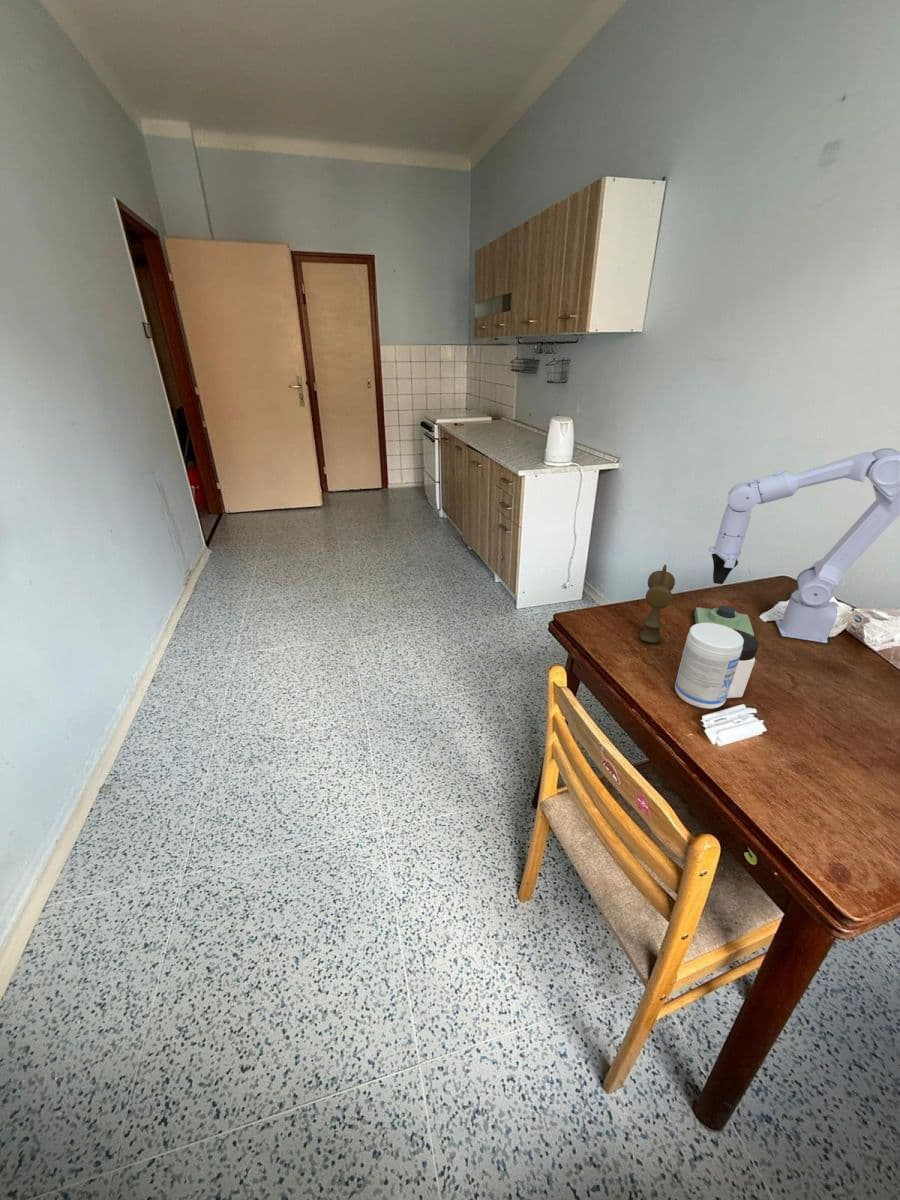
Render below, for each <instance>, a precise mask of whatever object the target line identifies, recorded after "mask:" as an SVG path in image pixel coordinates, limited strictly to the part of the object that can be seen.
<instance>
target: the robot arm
mask: <svg viewBox="0 0 900 1200" xmlns="http://www.w3.org/2000/svg"><path fill="white" fill-rule="evenodd" d="M866 478H868V479H869V481H870V483H871V484H872V488H873V492H874V495H875V499H874V501H873V502H872V504H870V506H869V507H868V508H867V509H865V511H864V512H863V513H862V514H861V516H860V517H859V518H858V519H857V520H856V521H855V522H854V523H853V524H852V525H851V527H849V529H848V530H847V531H846V532H845V533H844V534H843V536H841V538H840V539H839V540H838V541H837V542H836V544H835V545H833V546H832V548H830V550H829V551H828V552H827V553H826V554H825V555H824V557H823V558H820V559H819V560H816V561H815V562H814V563H813V564H812V565H811V566H810V567H807V568H805V569H804V570H802V571H800V572H799V574H798V575H797V577H796V584H797V589H796V590H795V591H793V592H792V593H791V595H790V597H789V600H788V603H787V605H786V609H785V611H784V613H783V617H782V619H775V625H776V626H777V628H778V631H779V633H780V635H781V637H785V638H790V639H798V640H803V641H810V642H815V643H823V644H827V643H828V642H829V641H828V638H829V636H830V634H831V632H832V630H833V627H834V625H835V622H836V620H837V616H838V606H837V604H836V603H835V602H831V600H832V598H833V594H834V591H835V590H836V589H837V587H838V586H839V585H840V583H841V581H842V578H843V576H844V574H845V573H846V571H848V570H849V569H850V567H851V566H853V564H854V563H855V562H856V561H857V560H858V559H859V558H860V557H861V556H862V555H863V554H864V553H865V552H866V551H867V550H868V548H869V547H871V546H872V544H873V543H874V542H876V540H878V538H879V537H880V536H881V535H882V534H883V533H884V532H885V531H886V530H887V529H888V528H889V527H890V526H891V525H892V523H893V522H894V521H895V520H896V519H898V517H900V451H898V450H897V449H895V448H890V447H882V448H878V449H876V450H873V451H872V452H871V451H865V452H861V453H857V454H854V455H851V456H848V457H845V458H842V459H839V460H836V461H833V462H828V463H826V464H823V465H819V466H817V467H813V468H811V469H808V470H804V471H801V472H798V473H793V472H791V471H789V470H784V471H782V470H780V469H778V470H775V471H774V472H773V474H772V475H768V476H766V477H761V478H758V479H755V478H751V479H748V482H746V481H742V482H738V483H736V484H734V485H733V486H732V487H731V489H730V490H729V491H728V495H727V505H726V506H725V509H724V513H723V514H722V518H721V522H720V526H719V529H718V533H717V537H716V540H715V544H714V546H709V547H708V552H711V559H712V565H713V572H712V581H713V583H714V584H716V585H723V584H724V583H725V581H726V580H727V578H728V576H729V575H730V573H731V572H732V570H733V569H735V568H736V567H737V566H738V564H739V560H738V559H739V557H740V556H741V554H742V547H743V543H744V540H745V537H746V534H747V530H748V527H749V523H750V520H751V513H752V509H753V508H755V506H756V505H762V504H767V503H771V502H775V501H778V500H781V499H786V498H789V497H793V496H794V495H795V493H797V492H798V490H799V489H802V488H803V489H804V488H807V487H812V486H816V485H819V484H823V483H828V482H833V481H837V480H841V479H849V480H852V481H855V482H861V483H864V482H865V479H866Z"/></svg>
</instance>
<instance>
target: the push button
mask: <svg viewBox="0 0 900 1200" xmlns="http://www.w3.org/2000/svg"><path fill="white" fill-rule="evenodd" d="M718 608H719V609H718V613H717V614H718V615H719V616H722V617H724V618H733V617H734V614H735V611H736V609H735V608H733V607H732V606H728V605H720V606H719V607H718Z"/></svg>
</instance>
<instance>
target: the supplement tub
mask: <svg viewBox="0 0 900 1200" xmlns="http://www.w3.org/2000/svg"><path fill="white" fill-rule="evenodd" d="M743 643H744V639H743V637H742V636H741V635H740V634H739V633H738V632H736V631H735V630H733V629H731V628H729V627H726V626H723V625H720V624H715V623H698V624H696V623H695V624H693V625H692V626H691V627H690V628H689V631H688V633H687V635H686V640H685V643H684V648H683V652H682V654H681V655H682V656H681V659H680V664H679V668H678V672H677V675H676V680H675V683H674V691H675V692H676V694H677V696H678V697H679V698H680V699H681V700H682V701H684V702H685V703H687V704H689V705H691V706H694V707H696V708H700V709H717V708H720V707H721V706H723V705H724V704H725V703H726V702H727V699H728V698H727V695H728V692H729V689H730V686H731V683H732V680H733V677H734V674H735V671H736V668H737V665H738V662H739V659H740V655H741V652H742V649H743Z"/></svg>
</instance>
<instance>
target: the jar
mask: <svg viewBox="0 0 900 1200" xmlns="http://www.w3.org/2000/svg"><path fill="white" fill-rule="evenodd" d="M733 630H735V631H736V632H738V633H739V634H740V635H741V636H742V637H743V639H744V643H743V649H742V652H741V655H740V659H739V662H738V665H737V668H736V671H735V674H734V677H733V680H732V683H731V686H730V689H729V692H728V695H727V698H726V699H735V698H737V699H738V698H743V696H744V693H745V691H746V688H747V684H748V682H749V679H750V676H751V674H752V671H753V668H754V665H755V663H756V655H757V652H758V649H759V647H760V642H759V641H758V639H757V638H756V637H755V636H754V637H753V636H752V635H750V634H748V633H746V632H743V631H740V630H737V629H733Z"/></svg>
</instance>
